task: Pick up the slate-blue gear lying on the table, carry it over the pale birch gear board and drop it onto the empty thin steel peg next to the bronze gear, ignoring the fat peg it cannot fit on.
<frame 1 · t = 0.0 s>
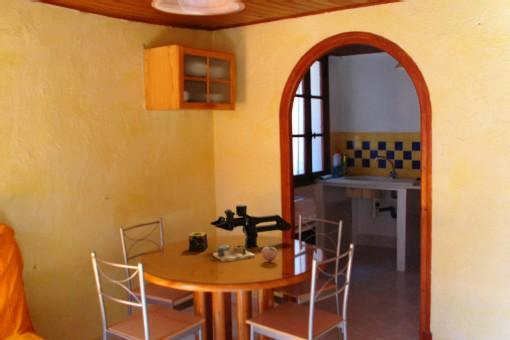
hand: (213, 224, 301), 17 cm above the table, tool horizontal, fingers open, 9 cm apart
tissue box: (198, 249, 309), on the table
decorative fruit: (269, 262, 276), on the table
gear board: (233, 256, 290), on the table
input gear: (224, 251, 302), on the table
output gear: (239, 251, 295), resting on gear board
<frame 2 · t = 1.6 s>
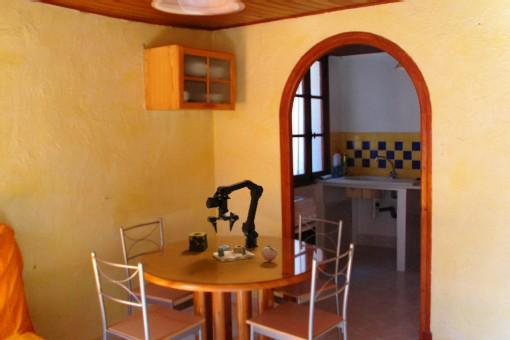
hand: (223, 232, 300), 12 cm above the table, tool pointing down, fingers open, 9 cm apart
nothing on the table moved.
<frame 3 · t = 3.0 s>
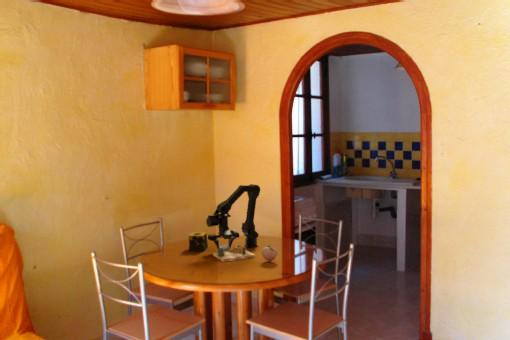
hand: (224, 249, 301), 1 cm above the table, tool pointing down, fingers closed on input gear, 7 cm apart
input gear: (224, 251, 302), on the table, touching gripper
everything else where it was.
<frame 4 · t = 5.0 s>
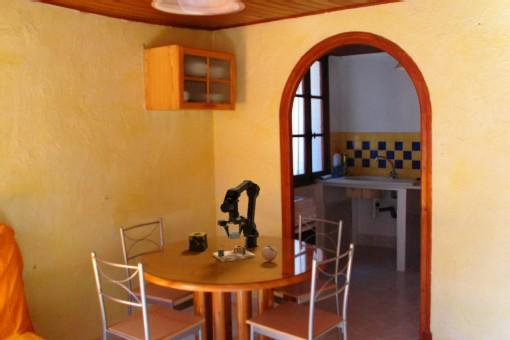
hand: (234, 236, 293), 11 cm above the table, tool pointing down, fingers closed on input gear, 7 cm apart
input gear: (234, 237, 293), point 10 cm above the table, touching gripper
everything else where it was.
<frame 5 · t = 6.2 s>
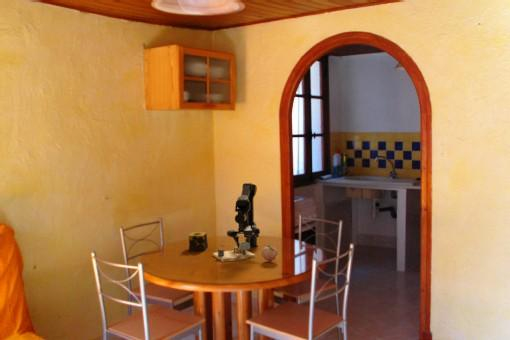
hand: (243, 246, 288), 6 cm above the table, tool pointing down, fingers closed on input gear, 7 cm apart
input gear: (244, 248, 288), point 5 cm above the table, touching gripper
everything else where it was.
when the fingers open (4 cm above the table, at t = 7.0 s): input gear drops 2 cm, resting on gear board.
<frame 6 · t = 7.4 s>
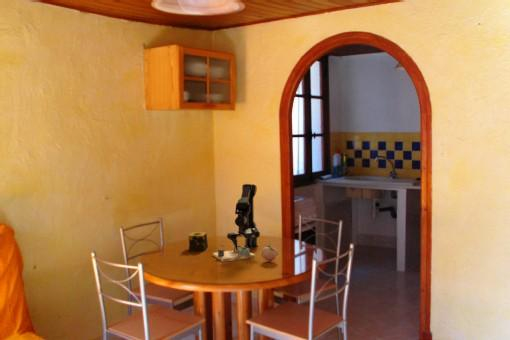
hand: (243, 249, 288), 4 cm above the table, tool pointing down, fingers open, 9 cm apart
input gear: (244, 254, 288), point 1 cm above the table, touching gear board
everything else where it was.
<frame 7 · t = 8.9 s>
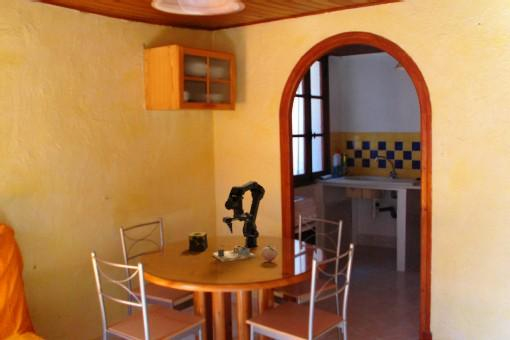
hand: (238, 232, 299), 12 cm above the table, tool pointing down, fingers open, 9 cm apart
nothing on the table moved.
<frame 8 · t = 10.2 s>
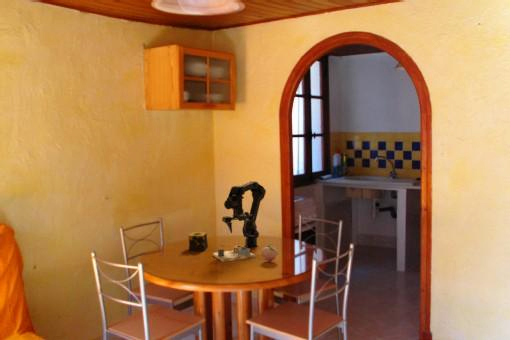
hand: (238, 232, 300), 12 cm above the table, tool pointing down, fingers open, 9 cm apart
nothing on the table moved.
at the end: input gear 0.1 cm from the target spot, point 1.5 cm above the table; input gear tilted 0°; the gripper is holding nothing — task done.
